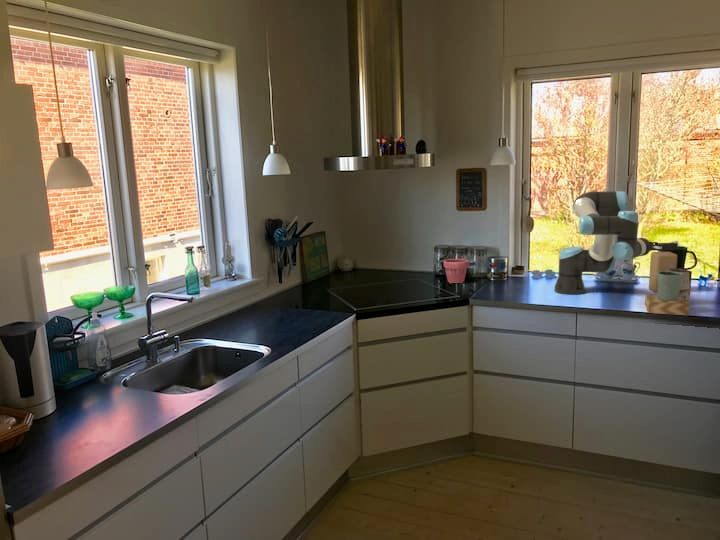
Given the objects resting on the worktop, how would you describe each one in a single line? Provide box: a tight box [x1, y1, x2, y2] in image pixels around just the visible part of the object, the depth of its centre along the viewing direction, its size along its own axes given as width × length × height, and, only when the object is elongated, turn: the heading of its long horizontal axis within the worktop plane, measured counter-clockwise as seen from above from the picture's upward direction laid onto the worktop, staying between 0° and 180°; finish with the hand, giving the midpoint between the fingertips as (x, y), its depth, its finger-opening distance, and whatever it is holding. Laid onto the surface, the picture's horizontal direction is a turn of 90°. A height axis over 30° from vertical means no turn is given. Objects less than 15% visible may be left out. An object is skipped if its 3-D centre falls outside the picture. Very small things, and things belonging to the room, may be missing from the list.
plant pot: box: [443, 258, 469, 284], centre depth 345 cm, size 14×14×13 cm
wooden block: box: [648, 251, 678, 294], centre depth 311 cm, size 10×10×20 cm
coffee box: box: [669, 267, 693, 304], centre depth 285 cm, size 9×6×16 cm
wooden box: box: [644, 294, 690, 316], centre depth 273 cm, size 16×16×5 cm
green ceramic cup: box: [656, 271, 683, 301], centre depth 271 cm, size 10×10×12 cm
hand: (660, 242), depth 262 cm, fingers open, 13 cm apart
